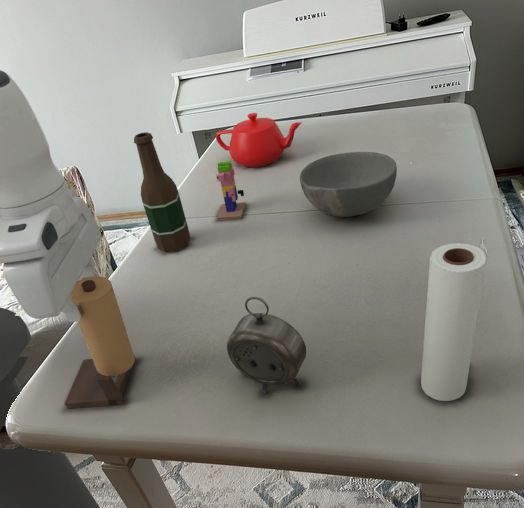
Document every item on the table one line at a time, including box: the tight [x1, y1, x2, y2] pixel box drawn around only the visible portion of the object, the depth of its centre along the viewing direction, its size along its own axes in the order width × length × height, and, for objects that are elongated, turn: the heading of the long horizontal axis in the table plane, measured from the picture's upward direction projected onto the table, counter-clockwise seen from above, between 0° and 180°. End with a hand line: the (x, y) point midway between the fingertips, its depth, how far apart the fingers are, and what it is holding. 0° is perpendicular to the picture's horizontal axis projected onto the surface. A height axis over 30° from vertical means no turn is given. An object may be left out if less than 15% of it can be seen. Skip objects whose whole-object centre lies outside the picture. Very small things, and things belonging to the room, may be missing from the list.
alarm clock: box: [226, 296, 307, 395], centre depth 73 cm, size 11×5×16 cm, turn 66°
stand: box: [64, 352, 137, 410], centre depth 82 cm, size 9×10×6 cm
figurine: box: [215, 160, 247, 221], centre depth 119 cm, size 7×6×12 cm
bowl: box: [299, 151, 398, 218], centre depth 111 cm, size 20×20×10 cm
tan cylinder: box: [70, 275, 136, 382], centre depth 76 cm, size 16×8×6 cm
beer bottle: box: [133, 131, 191, 253], centre depth 107 cm, size 8×8×24 cm
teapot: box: [215, 112, 303, 168], centre depth 140 cm, size 25×16×12 cm, turn 73°
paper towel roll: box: [420, 237, 488, 402], centre depth 65 cm, size 7×6×21 cm
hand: (85, 303), depth 73 cm, fingers closed on tan cylinder, 6 cm apart
